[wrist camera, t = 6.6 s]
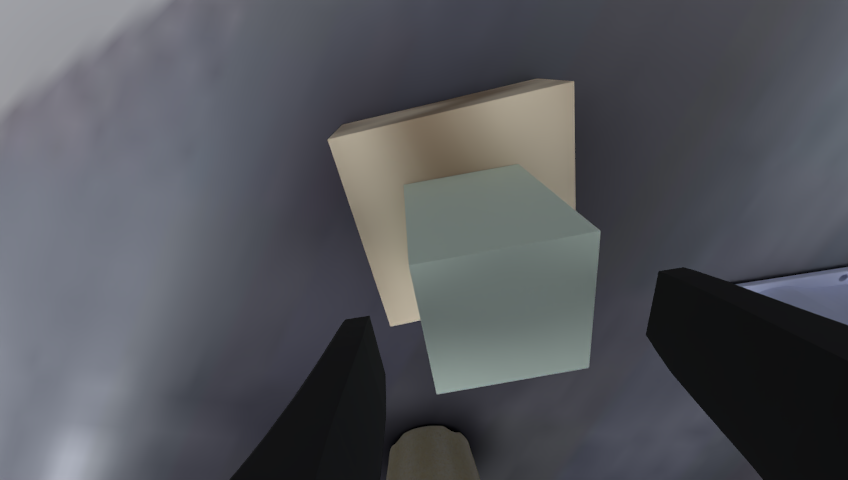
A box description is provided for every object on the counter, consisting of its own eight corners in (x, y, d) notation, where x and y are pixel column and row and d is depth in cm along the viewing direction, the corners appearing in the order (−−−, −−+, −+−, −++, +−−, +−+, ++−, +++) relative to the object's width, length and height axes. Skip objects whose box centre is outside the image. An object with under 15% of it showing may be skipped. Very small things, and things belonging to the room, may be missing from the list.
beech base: (534, 78, 16) (574, 81, 12) (544, 247, 20) (576, 287, 16) (343, 123, 16) (327, 139, 12) (392, 280, 20) (390, 326, 16)
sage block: (518, 163, 13) (600, 230, 8) (521, 262, 15) (588, 367, 10) (403, 184, 13) (408, 265, 8) (422, 279, 15) (436, 394, 10)
